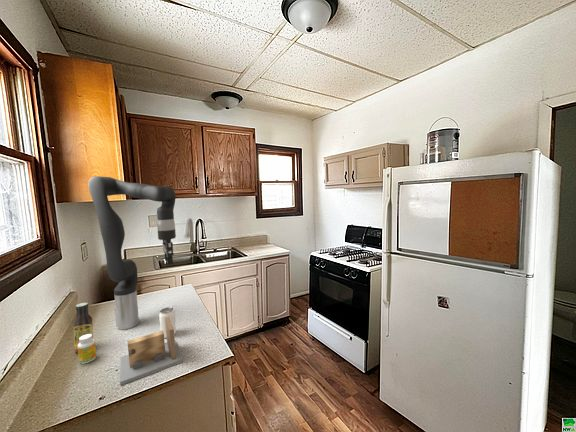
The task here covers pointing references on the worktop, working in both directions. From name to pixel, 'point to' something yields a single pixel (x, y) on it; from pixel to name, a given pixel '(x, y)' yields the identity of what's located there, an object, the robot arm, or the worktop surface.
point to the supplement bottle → (86, 349)
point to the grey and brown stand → (153, 365)
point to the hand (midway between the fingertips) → (168, 262)
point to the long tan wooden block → (146, 347)
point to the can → (163, 314)
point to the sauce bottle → (82, 323)
